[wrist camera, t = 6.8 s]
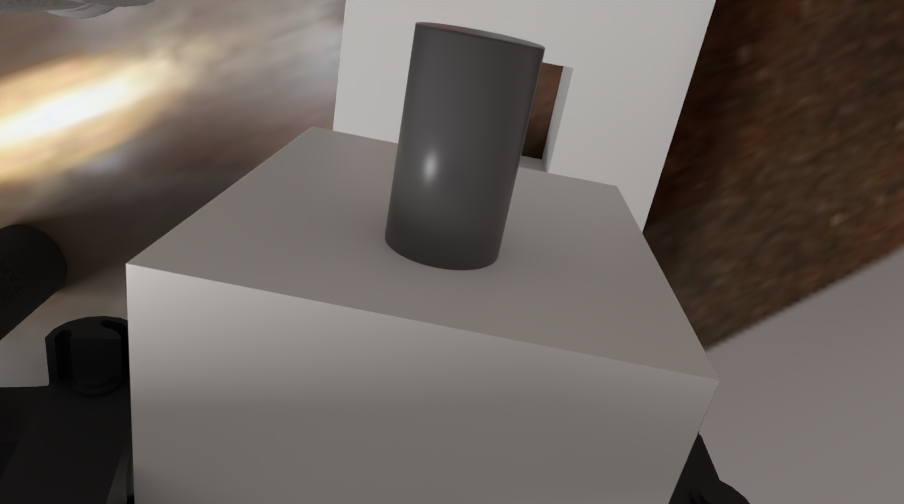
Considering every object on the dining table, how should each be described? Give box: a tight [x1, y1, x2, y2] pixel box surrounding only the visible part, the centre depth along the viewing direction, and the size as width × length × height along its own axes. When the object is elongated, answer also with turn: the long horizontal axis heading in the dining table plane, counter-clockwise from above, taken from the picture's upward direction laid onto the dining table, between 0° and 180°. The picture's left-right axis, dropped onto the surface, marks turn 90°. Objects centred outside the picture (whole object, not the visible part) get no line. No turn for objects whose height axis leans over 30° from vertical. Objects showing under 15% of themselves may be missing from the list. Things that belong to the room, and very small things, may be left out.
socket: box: [333, 0, 716, 232], centre depth 31 cm, size 20×16×5 cm
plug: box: [126, 22, 720, 504], centre depth 13 cm, size 11×6×11 cm, turn 170°
